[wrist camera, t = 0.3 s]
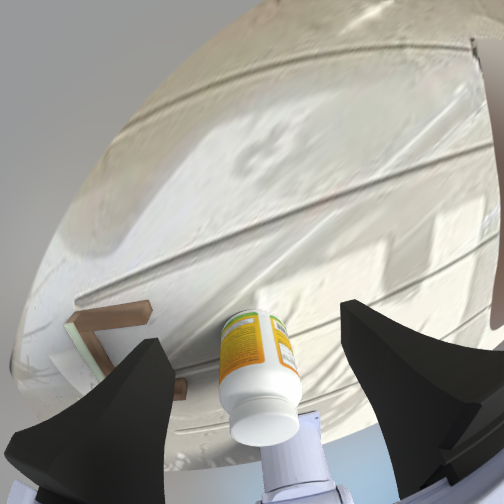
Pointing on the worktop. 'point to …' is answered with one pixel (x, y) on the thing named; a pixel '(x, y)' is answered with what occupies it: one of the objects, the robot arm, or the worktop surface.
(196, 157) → the worktop surface
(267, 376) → the supplement bottle
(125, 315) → the dock
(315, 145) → the worktop surface
